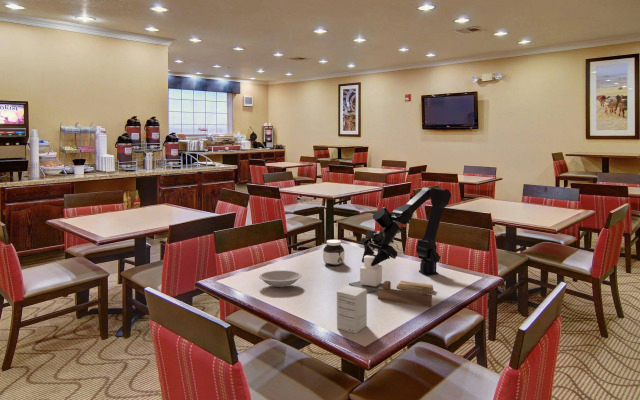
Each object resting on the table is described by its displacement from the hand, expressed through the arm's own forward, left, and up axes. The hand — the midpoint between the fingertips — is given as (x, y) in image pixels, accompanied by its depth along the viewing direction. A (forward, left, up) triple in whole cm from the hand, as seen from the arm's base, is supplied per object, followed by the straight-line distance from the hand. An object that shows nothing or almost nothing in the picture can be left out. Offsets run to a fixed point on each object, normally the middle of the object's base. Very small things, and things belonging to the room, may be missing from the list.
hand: (366, 263), depth 177 cm
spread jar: (-1, -37, -10) cm, 38 cm away
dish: (+33, -13, -10) cm, 37 cm away
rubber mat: (-1, 0, -10) cm, 10 cm away
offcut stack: (-17, +10, -10) cm, 22 cm away
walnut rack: (-6, +20, -10) cm, 23 cm away
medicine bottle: (-2, 0, -9) cm, 9 cm away
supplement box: (+22, +33, -10) cm, 41 cm away
